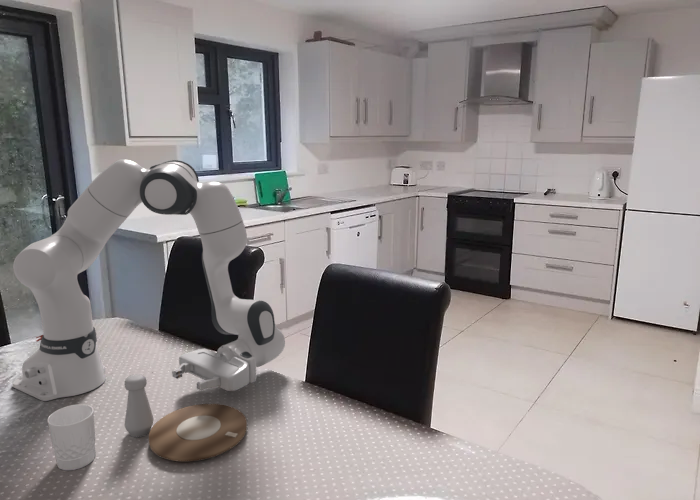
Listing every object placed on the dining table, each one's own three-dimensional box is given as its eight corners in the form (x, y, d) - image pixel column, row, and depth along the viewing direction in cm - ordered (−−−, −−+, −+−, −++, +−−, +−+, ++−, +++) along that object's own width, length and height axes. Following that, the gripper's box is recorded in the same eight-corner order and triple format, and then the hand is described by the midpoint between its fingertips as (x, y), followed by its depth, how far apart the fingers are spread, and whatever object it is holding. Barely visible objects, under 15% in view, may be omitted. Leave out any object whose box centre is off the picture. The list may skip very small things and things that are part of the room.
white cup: (52, 477, 95) (46, 430, 93) (54, 454, 102) (48, 409, 99) (99, 465, 98) (94, 419, 96) (98, 444, 105) (93, 400, 103)
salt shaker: (144, 441, 106) (138, 384, 103) (119, 438, 107) (113, 382, 104) (159, 426, 112) (155, 372, 109) (136, 423, 113) (131, 369, 110)
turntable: (127, 449, 102) (126, 443, 102) (188, 401, 120) (188, 396, 120) (212, 470, 96) (212, 465, 95) (263, 416, 114) (263, 411, 114)
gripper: (206, 338, 134) (159, 356, 123) (259, 359, 122) (212, 380, 111) (207, 360, 135) (161, 380, 124) (260, 383, 123) (214, 407, 112)
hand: (185, 380), depth 117 cm, fingers open, 8 cm apart
